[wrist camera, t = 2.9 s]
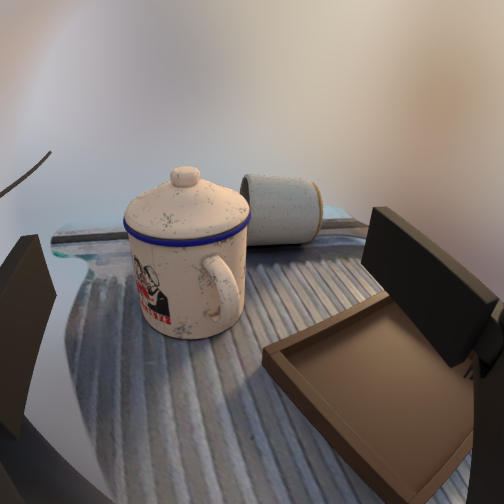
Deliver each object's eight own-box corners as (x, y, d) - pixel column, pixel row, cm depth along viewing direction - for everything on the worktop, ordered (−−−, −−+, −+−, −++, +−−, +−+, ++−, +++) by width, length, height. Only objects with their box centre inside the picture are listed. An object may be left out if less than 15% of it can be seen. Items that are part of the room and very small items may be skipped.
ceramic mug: (321, 254, 35) (331, 187, 31) (246, 259, 33) (249, 187, 30) (292, 215, 44) (298, 160, 40) (232, 217, 42) (234, 160, 39)
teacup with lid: (129, 288, 28) (110, 164, 22) (218, 265, 32) (218, 148, 26) (171, 388, 19) (142, 228, 14) (287, 345, 24) (309, 196, 18)
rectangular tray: (261, 364, 22) (262, 347, 21) (391, 298, 29) (396, 283, 28) (402, 519, 11) (416, 512, 10) (507, 389, 18) (518, 375, 17)
